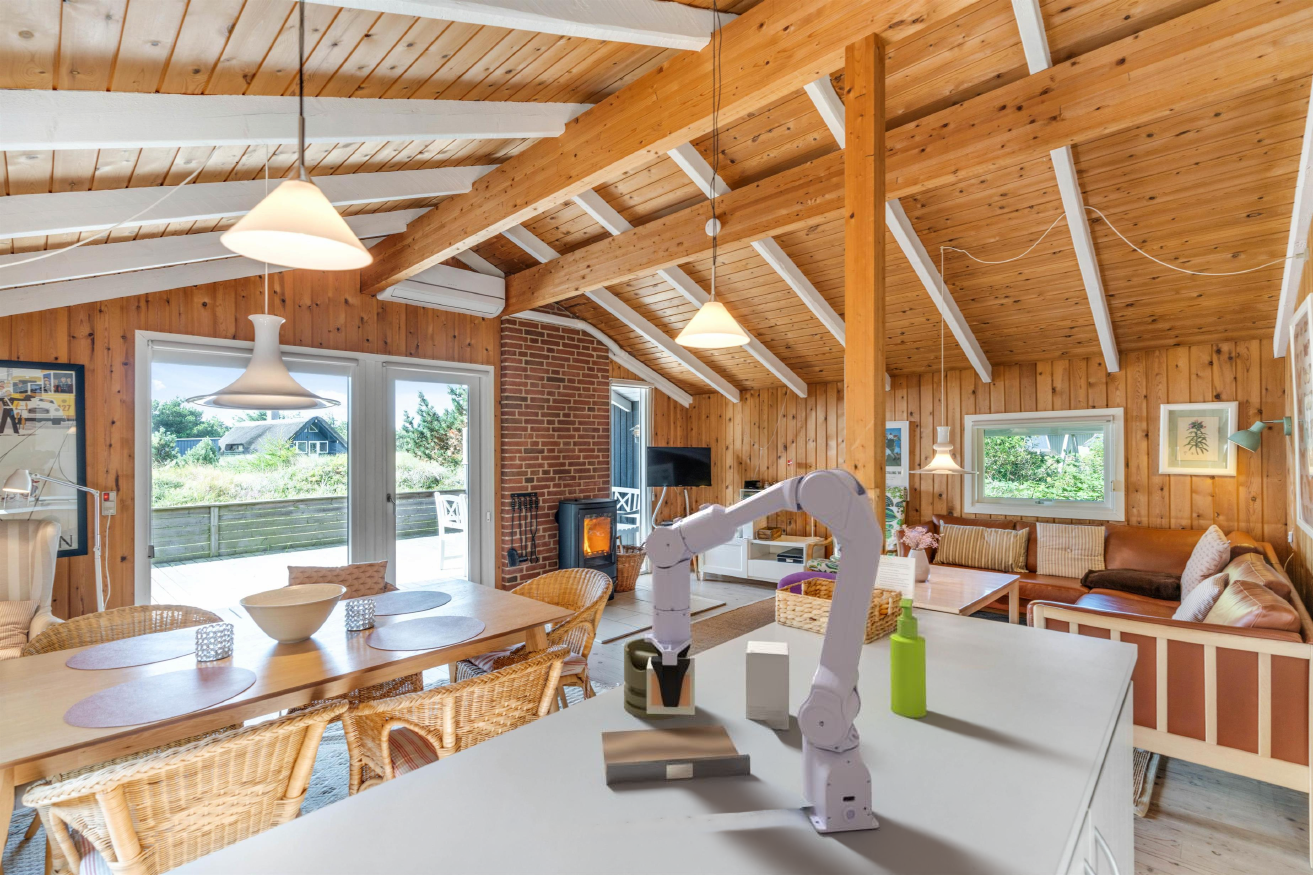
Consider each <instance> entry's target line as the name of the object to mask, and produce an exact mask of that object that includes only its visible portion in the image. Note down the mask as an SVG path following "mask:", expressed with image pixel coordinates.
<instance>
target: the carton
mask: <svg viewBox="0 0 1313 875" xmlns="http://www.w3.org/2000/svg"><path fill="white" fill-rule="evenodd" d="M678 659H690V665H689V667H688V669H687V671H686V673H685V676H684V679H683V683H682V688H681V695H680V701H679V705H678V707H664V706H663V702H662V698H661V692H660V686H659V682H658V678H657V675H656V673H655V671H654V669H653V667H652V665H651V657H649V660H648V665H647V714H680V715H690V716H691V715H693V716H695V715H696V707H695V706H696V691H695V690H696V684H695V683H696V679H695V675H696V674H695V673H696V670H695V669H696V668H695V666H696V665H695V663H696V662H695V661H696V659H695V657H687V658H678Z"/></svg>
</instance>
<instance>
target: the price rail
mask: <svg viewBox="0 0 1313 875" xmlns="http://www.w3.org/2000/svg"><path fill="white" fill-rule="evenodd" d="M738 775H743V776H751V756H750V754H739V755H732V756H716V757H701V758H685V759H669V760H654V761H638V762H623V763H607V764H606V774H605V783H606V784H612V785H622V784H621V783H627V784H637V783H636V782H641V783H651V782H650V781H656V782H665V780H670V781H680V780H679V779H685V780H695V779H694V778H699V779H709V778H708V777H714V778H724V777H723V776H728V777H738ZM606 784H605V785H606Z"/></svg>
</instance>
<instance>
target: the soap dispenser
mask: <svg viewBox="0 0 1313 875" xmlns="http://www.w3.org/2000/svg"><path fill="white" fill-rule="evenodd" d="M913 604H914V598H905V597H902V598H901V599H900V601H899V605H898V608H900V609H901V610H902V611H901V612H902V613H901V614H900V615H899V616H897V621H896V622H897V623H896V624H897V625H896V626H897V627H896V628H897V631H896V633H891V635H890V639H889V642H890V643H889V644H890V645H889V646H890V648H889V649H890V650H889V651H890V652H889V654H890V657H889V659H890V661H889V662H890V710H891V711H892V712H893V713H894V714H896V715H898V716H901V717H905V718H912V719H913V718H917V719H918V718H923V717H925V716H926V715H927V679H926V677H927V676H926V675H927V674H926V672H927V671H926V669H927V667H926V663H927V662H926V638H925V637H923V636H921V635H919V634H918V633H919V631H918V630H919V628H918V618H917V617H915V616H914V615H913Z"/></svg>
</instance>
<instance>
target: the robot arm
mask: <svg viewBox="0 0 1313 875" xmlns="http://www.w3.org/2000/svg"><path fill="white" fill-rule="evenodd" d="M698 508H699V511H696V512H695V513H693V514H690V515H687V516H686V517H684V518H682V516H680V517H677V518H674V519H673V522H672V523H673V524H672V525H668V526H657V527H656V528H655V529H654V530H653V531H652V532H650V533H649V534H648V535H647V538H646V539H645V547H644V548H645V554H646V556H647V558H648V559H649V561H650V562H651V564H652V568H651V574H652V575H651V579H652V581H651V582H652V585H651V586H652V587H651V590H652V591H651V592H652V593H651V594H652V595H651V596H652V598H651V602H652V605H651V606H652V608H651V612H652V613H651V614H652V615H651V616H652V619H651V620H652V626H651V627H652V628H651V629H652V630H651V632H652V633H645V635H644V638H645V642H652V643H653V644H654V648H655V650H656V652H657V654H658V656H651V665H652V667H653V669H654V671H655V673H656V675H657V678H658V682H659V686H660V692H661V698H662V702H663V706H664V707H678V705H679V701H680V695H681V688H682V683H683V679H684V676H685V673H686V671H687V669H688V667H689V665H690V659H678V658H686V656H687V657H688V653H689V651H690V649H691V644H692V643H693V642H692V640H693V635H692V633H691V561H692V559H693V558H694V557H697V556H699V555H701V554H703V553H705V552H708V551H710V550H713V549H715V548H718V547H719V546H722V545H725V544H727V543H729V542H732V540H733V539H734V537H735V536H736V533H737V530H738V528H740V527H743V526H745V525H748V524H750V523H752V522H755V521H758V520H760V519H762V518H765V517H768V516H769V515H772V514H775V513H778V512H780V511H783V510H785V511H790V512H794V513H798V512H803V511H804V512H805V513H806V514H807V515H809V517H811V518H812V519H814V520H816V521H817V522H818V523H820V524H821V525H823V526H824V527H826V528H827V529H828V531H829V532H830V533H831V534H832V536H833V537H834V538H835V540H836V541H837V542H838V543H839V545H840V546H841V549H840V550H841V551H840V556H839V561H838V567H837V572H836V576H835V581H834V586H833V592H832V597H831V601H830V607H829V610H828V611H829V612H828V616H827V622H826V626H825V627H826V628H825V633H824V637H823V643H822V648H821V652H820V658H819V663H818V666H817V668H816V671H815V674H814V677H813V679H812V682H811V686H810V691H809V694H808V696H807V697H806V699H805V700H804V701H802V703H801V705H800V706H799V709H798V710H797V711H798V712H797V724H798V727H799V730H800V732H801V734H802V740H801V742H802V745H801V746H802V795H803V797H804V799H805V800H806V801H807V802H808V803H809V804H810V805H808V806H801V808H802V810H803V811H804V813H805V815H806V817H807V818H808V820H809V821H810V823H811V824H812V826H813V827H814V828H815V830H816V832H818V833H821V834H822V833H834V832H846V831H857V830H859V831H860V830H868V829H871V830H872V829H878V828H879V827H880V823H879V821H878V820H877V819H876V818H875V817H874V815H873V809H872V808H873V802H872V798H873V797H872V796H873V793H872V790H873V789H872V784H873V783H872V776H871V773H870V771H869V769H868V767H867V766H866V764H865V762H864V761H863V759H862V756H861V752H860V751H861V750H860V734H859V732H858V730H857V727H856V725H855V723H854V721H855V719H856V718H857V717H858V715H859V714H860V711H861V706H862V700H861V696H860V692H859V687H858V685H859V679H860V678H859V677H860V672H859V665H860V659H861V655H862V649H863V645H864V640H865V635H866V629H867V625H868V619H869V617H870V616H869V615H870V610H871V605H872V600H873V596H874V589H875V584H876V579H877V575H878V571H879V565H880V561H881V554H882V549H883V544H884V534H883V531H882V530H883V529H882V528H881V526H880V523H879V521H878V517H877V516H876V513H875V511H874V509H873V506H872V503H871V501H870V498H869V493H868V489H867V488H866V487H865V486H864V485H863V484H862V483H861V481H860V480H859V479H858V478H857V477H856V476H855V475H854V474H853V473H851V471H849V470H847V469H843V468H839V467H838V468H837V467H836V468H830V469H816V470H813V471H811V472H808V473H807V474H804V475H798V476H795V477H791V478H788V479H785V480H782V481H780V482H777V483H775V484H774V485H771V486H769V487H767V488H766V489H763V490H761V491H759V492H757V493H755V494H754V495H751V496H750V497H747V498H746V499H744V500H741V501H739V502H737V503H736V504H733V505H731V506H729V507H726V506H723V505H721V504H720V503H719V504H718V503H714V504H712V505H711V503H709V502H708V503H704V504H702V505H700V506H699V507H698Z"/></svg>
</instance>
